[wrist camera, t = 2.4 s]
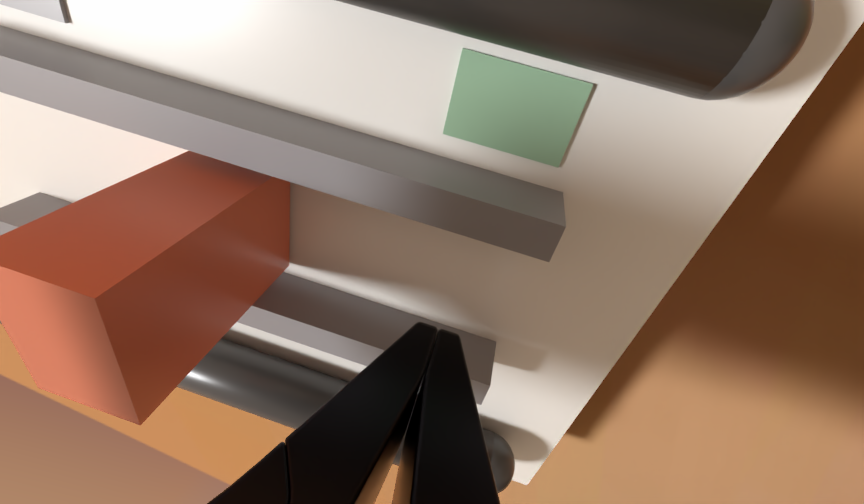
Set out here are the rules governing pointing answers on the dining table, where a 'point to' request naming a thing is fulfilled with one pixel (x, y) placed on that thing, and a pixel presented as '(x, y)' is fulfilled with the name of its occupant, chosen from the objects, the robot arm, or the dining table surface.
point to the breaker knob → (141, 279)
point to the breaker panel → (426, 168)
